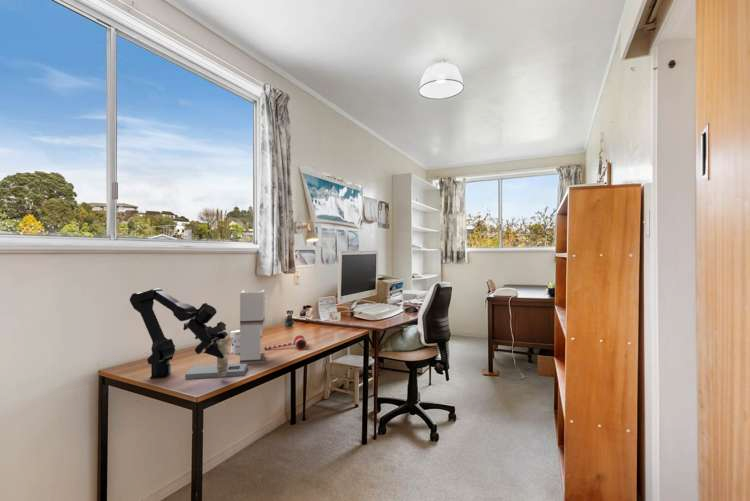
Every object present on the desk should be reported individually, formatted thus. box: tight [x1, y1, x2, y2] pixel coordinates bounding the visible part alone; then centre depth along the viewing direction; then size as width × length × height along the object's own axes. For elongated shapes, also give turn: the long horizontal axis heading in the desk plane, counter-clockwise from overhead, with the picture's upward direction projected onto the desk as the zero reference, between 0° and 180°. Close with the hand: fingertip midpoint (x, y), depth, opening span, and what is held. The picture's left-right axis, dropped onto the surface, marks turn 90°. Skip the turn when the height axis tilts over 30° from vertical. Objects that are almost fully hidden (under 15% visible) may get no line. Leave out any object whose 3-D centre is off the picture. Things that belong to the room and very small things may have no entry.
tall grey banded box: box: [239, 289, 266, 365], centre depth 186 cm, size 11×11×35 cm
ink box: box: [230, 329, 240, 355], centre depth 202 cm, size 9×5×12 cm, turn 138°
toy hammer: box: [264, 334, 308, 351], centre depth 210 cm, size 23×12×6 cm, turn 108°
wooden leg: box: [216, 338, 229, 376], centre depth 158 cm, size 4×4×15 cm
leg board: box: [184, 363, 248, 380], centre depth 167 cm, size 24×11×2 cm, turn 101°
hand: (225, 356), depth 158 cm, fingers closed on wooden leg, 4 cm apart
